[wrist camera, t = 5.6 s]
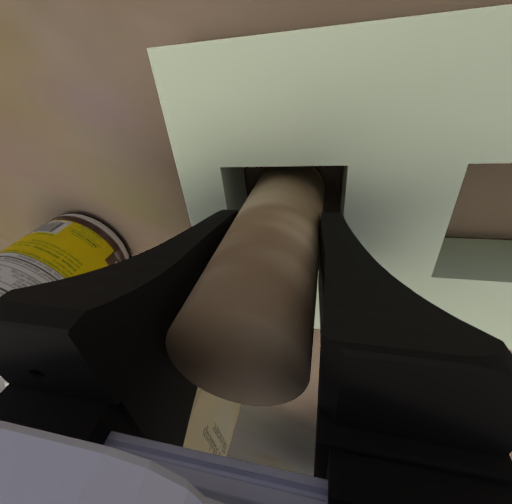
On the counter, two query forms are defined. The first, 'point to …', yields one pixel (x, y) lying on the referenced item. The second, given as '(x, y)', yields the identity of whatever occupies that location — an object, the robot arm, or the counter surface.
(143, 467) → the robot arm
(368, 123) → the board
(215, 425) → the skincare box
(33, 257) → the supplement bottle
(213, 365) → the dowel
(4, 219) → the counter surface
